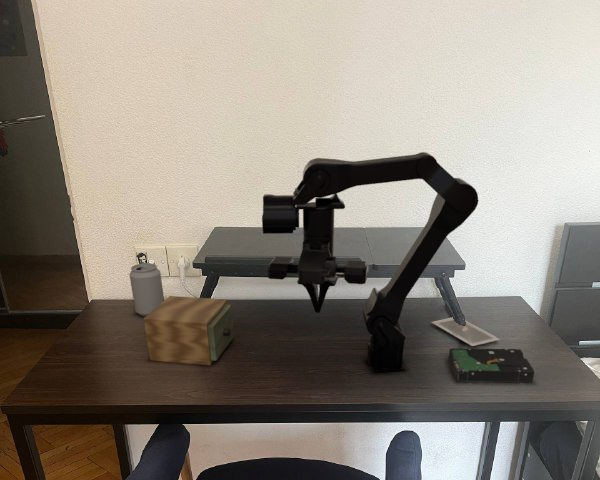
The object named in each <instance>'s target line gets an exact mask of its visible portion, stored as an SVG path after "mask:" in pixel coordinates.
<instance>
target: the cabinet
mask: <svg viewBox="0 0 600 480" xmlns="http://www.w3.org/2000/svg"><path fill="white" fill-rule="evenodd" d="M226 305H228V299H223V298H207V297H193V296H192V297H191V296H178V295H169V296H168V297H166V298H164V301H163V302H162V303H161V304H160V305H159V306H157V307H156V308H155V309H154V310H153V311H152V312H151V313H150V314H148V315H147V316H144V318H143V324H144V329H145V335H146V342H147V343H146V344H147V349H148V354H149V355H148V356H149V360H150V361H156V362H164V363H165V362H166V363H177V364H178V363H179V364H189V365H201V366H211V365H212V364H213V363H214V361H213V360H211V354H210V344H209V334H208V324H209V323H210V322H211V321H212V320H213V319H214V317H215V316H216V315H217V314H218V313H219V312H220V311H221V310H222V309H223V308H224V307H225V306H226Z"/></svg>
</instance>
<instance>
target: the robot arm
mask: <svg viewBox="0 0 600 480" xmlns="http://www.w3.org/2000/svg"><path fill="white" fill-rule="evenodd" d="M413 180H423V181H424V182H425V184H427V185H428V186H429V187H430V188H431V189H432V190H433V191H434V192H436V196H435V198H434V200H433V203H432V205H431V209H430V212H429V213H430V214H429V216H428V219H427V222H426V224H425V225H424V226H423V228H422V230H421V232H420V233H419V235H418V236H417V238H416V239H415V241H414V242H413V244H412V245H411V246H410V249H409V250H408V252H407V253H406V254H405V257H404V258H403V259H402V261H401V262H400V264H399V265H398V267H397V269H396V271H395V272H394V274H393V275H392V277H391V278H390V280H389V281H388V283H387V284H386V285H385V286H384V287H383V288H381V289H380V290H378V289H377V288H376V287H373V288H372V290H371V291H370V294H369V296H368V297H367V298H366V300H365V301H363V303H362V305H363V310H362V315H363V319H364V324H365V326H366V328H365V329H366V331H367V332H368V334H369V335H370V340H369V341H370V342H368V343H367V348H366V349H367V351H366V362H367V363H368V365H369V367H370V369H371V370H372V371H373V373H386V372H387V373H390V372H401V371H402V372H403V371H405V370H406V369H405V365H403V359H404V348H405V340H406V338H407V337H406V335H405V332H404V330H403V328H402V325H401V322H400V317H401V314H402V311H403V307H404V304H405V300H406V298H407V297H408V295H409V294H410V292H411V291H412V289H413V288H414V287H415V285H416V283H417V282H418V280H419V279H420V278H421V276H422V274H423V273H424V272H425V270H426V268H427V267H428V265H429V264H430V262H431V261H432V259H433V258H434V256H435V255H436V254H437V252H438V250H439V249H440V247H441V246H442V244H443V243H444V242H445V240H446V238H447V237H448V236H449V235H450V234H451V233H453V232H454V231H455V230H456V229H459V227H460V226H462V225H463V224H464V223H465V222H466V220H467V219H468V218H469V217H470V216H471V215H472V214H473V213H474V212H475V210H476V209H477V207H478V204H479V196H478V195H479V194H478V192H477V190H476V189H475V188H474V186H473V185H471V184H470V183H468V182H467V181H466V180H464V179H462V178H460V177H454V176H452V174H450V173H449V171H447V170H446V169H445V168H444V167H443V166H442V165H441V164H440V163H438V161H437V159H436V158H435V156H433V155H431V153H429V152H425V151H422V152H418V153H416V154H407V155H400V156H399V155H398V156H390V157H382V158H372V159H364V160H355V161H352V160H345V159H344V160H343V159H336V158H326V157H325V158H324V157H316V158H312V159H310V160H309V161H308V162H307V163H306V164H305V165H304V168H303V170H302V179H301V181H300V182H299V184H298V185H297V186H296V187H295V188H294V191H293V192H292V194H282V195H281V194H278V195H277V194H271V193H268V194H267V193H265V194H263V196H262V216H261V227H262V234H264V235H272V234H274V235H276V234H279V235H280V234H286V235H287V234H294V231H297V229H298V228H299V229H300V210H302V248H301V249H302V250H301V253H300V255H299V260H298V262H295V260H294V258H293V257H292V256H291V257H288V256H275V257H274V258H273V259H272V260H271V261H270V263H269V264H268V265H267V278H268V279H270V280H282V281H283V280H284V279H285V278H286V277H288V274H295V275H296V274H297V278H298V279H297V281H296V283H297V285H302V286H303V287H304V289H305V290H306V292H307V294H308V296H309V298H310V302H311V304H312V308H313V310H314V313H316V314H321V310H322V308H323V305H324V302H325V299H326V296H327V293H328V291H329V288H330V287H335V286H336V284H337V283H338V280H339V277H343V279H344V280H345V282H346V283H347V284H350V285H351V284H353V285H364V284H366V282H367V281H368V280H367V279H368V276H369V263H368V262H367V261H366V260H350V259H349V260H347V262H346V265H338V260H337V259H338V258H337V256H334V250H335V249H334V247H335V245H334V244H335V210H345V208H346V205H345V201H343V200H342V199H341V198H340V197H339V195H338V194H339V193H341V192H343V191H346V190H348V189H351V188H355V187H361V186H366V185H376V184H385V183H386V184H387V183H395V182H403V181H413ZM329 196H330V197H329ZM313 199H315V201H312V200H313Z"/></svg>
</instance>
